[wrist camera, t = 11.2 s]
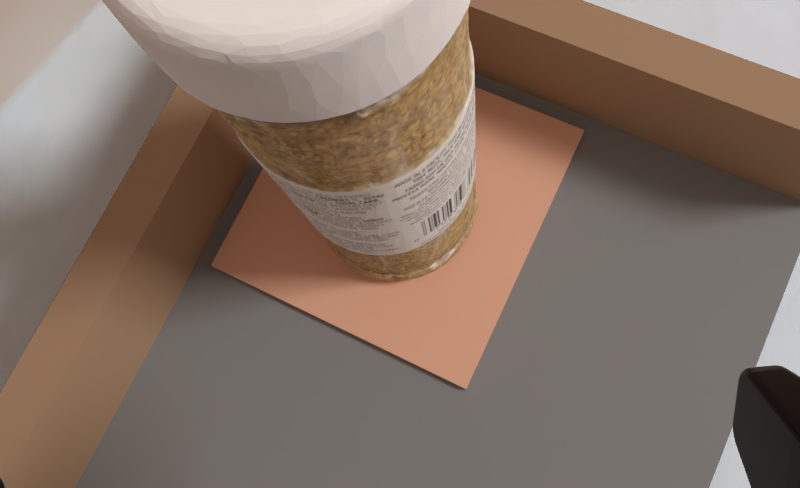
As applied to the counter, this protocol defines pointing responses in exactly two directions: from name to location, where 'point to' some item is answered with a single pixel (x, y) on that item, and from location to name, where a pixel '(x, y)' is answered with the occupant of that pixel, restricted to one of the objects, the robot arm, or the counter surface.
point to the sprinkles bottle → (339, 111)
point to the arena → (438, 291)
